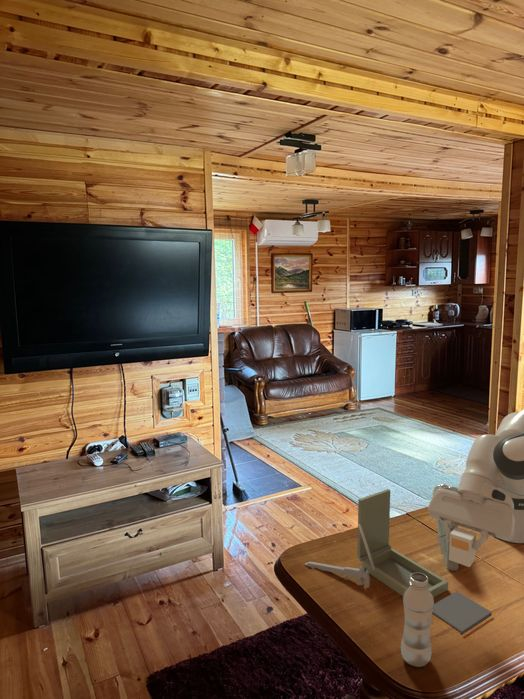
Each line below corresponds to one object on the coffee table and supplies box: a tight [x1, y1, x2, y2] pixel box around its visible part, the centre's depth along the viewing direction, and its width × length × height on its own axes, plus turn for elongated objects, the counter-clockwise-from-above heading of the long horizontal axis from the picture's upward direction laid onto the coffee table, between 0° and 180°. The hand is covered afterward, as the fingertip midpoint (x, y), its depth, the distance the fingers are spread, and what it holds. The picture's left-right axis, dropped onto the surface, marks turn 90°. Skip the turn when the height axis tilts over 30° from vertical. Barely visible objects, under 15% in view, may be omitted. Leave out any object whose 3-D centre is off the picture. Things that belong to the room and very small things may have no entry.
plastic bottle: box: [400, 573, 435, 668], centre depth 109 cm, size 6×7×20 cm
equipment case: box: [356, 488, 449, 599], centre depth 137 cm, size 13×22×21 cm, turn 33°
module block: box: [449, 527, 477, 568], centre depth 122 cm, size 4×5×7 cm
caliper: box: [303, 561, 371, 589], centre depth 140 cm, size 20×1×6 cm, turn 54°
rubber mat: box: [432, 590, 493, 636], centre depth 125 cm, size 12×10×1 cm
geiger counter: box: [436, 519, 459, 572], centre depth 153 cm, size 14×6×25 cm
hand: (461, 544), depth 121 cm, fingers closed on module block, 5 cm apart
